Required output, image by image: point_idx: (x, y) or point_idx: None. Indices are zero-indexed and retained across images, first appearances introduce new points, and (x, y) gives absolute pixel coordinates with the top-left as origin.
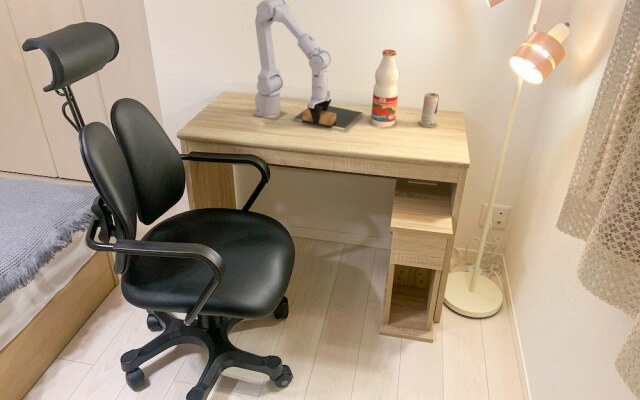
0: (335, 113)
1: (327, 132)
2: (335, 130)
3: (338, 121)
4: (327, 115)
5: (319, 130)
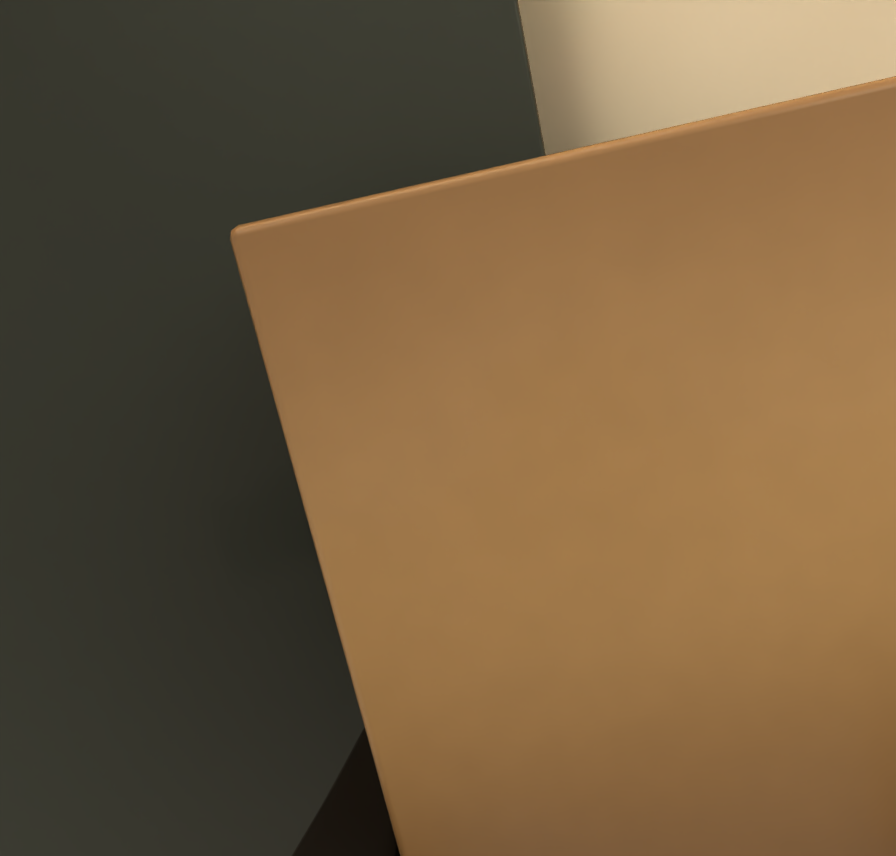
0: (313, 245)
1: None
2: (589, 42)
3: (108, 274)
4: (890, 435)
5: None
